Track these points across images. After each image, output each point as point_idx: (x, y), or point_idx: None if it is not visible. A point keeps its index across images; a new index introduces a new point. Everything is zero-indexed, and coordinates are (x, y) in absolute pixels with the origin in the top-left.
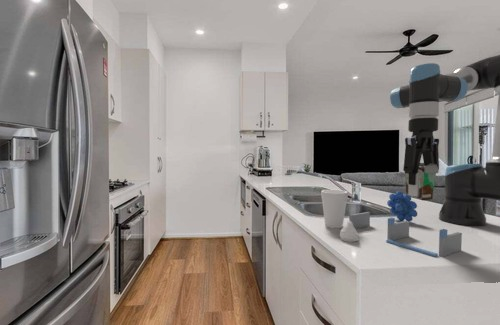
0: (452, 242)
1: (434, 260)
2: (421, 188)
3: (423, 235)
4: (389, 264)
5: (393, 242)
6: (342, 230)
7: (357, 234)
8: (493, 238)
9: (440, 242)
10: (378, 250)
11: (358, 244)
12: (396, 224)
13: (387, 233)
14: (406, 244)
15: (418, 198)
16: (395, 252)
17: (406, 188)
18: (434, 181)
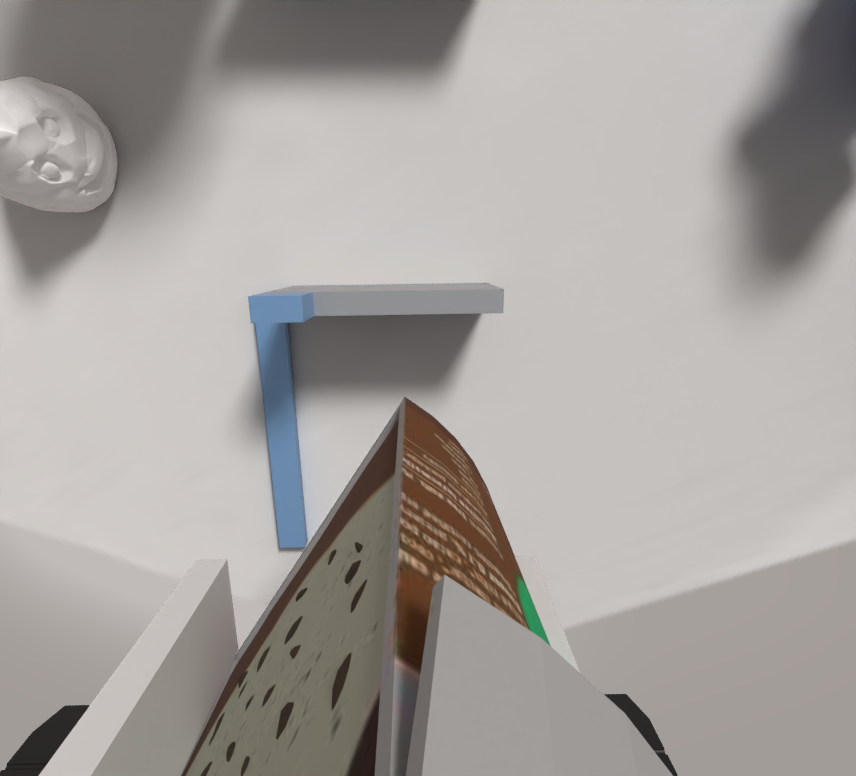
0: None
1: (242, 560)
2: (185, 772)
3: (584, 334)
4: (15, 504)
5: (258, 352)
6: None
7: (70, 201)
8: (839, 537)
9: None
10: (101, 374)
11: (63, 255)
12: (339, 315)
13: (283, 288)
14: (291, 409)
15: (259, 620)
16: (163, 431)
17: (395, 438)
18: None
